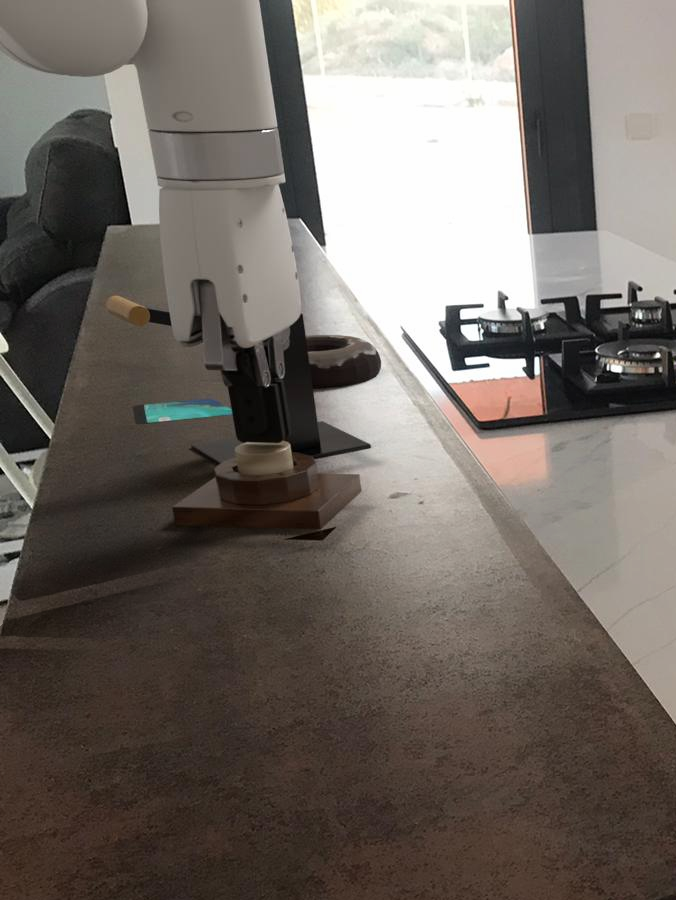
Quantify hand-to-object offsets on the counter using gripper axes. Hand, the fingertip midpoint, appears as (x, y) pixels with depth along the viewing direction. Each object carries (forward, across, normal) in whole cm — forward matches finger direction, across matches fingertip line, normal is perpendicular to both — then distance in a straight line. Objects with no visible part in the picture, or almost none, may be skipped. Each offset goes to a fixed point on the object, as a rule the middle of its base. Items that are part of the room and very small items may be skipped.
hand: (264, 438), depth 88 cm
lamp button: (+2, 0, 0) cm, 2 cm away
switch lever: (-4, -10, -9) cm, 14 cm away
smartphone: (+6, -26, -15) cm, 31 cm away
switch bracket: (+6, -14, -5) cm, 16 cm away
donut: (+6, -38, -11) cm, 40 cm away
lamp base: (+6, 0, 0) cm, 6 cm away
